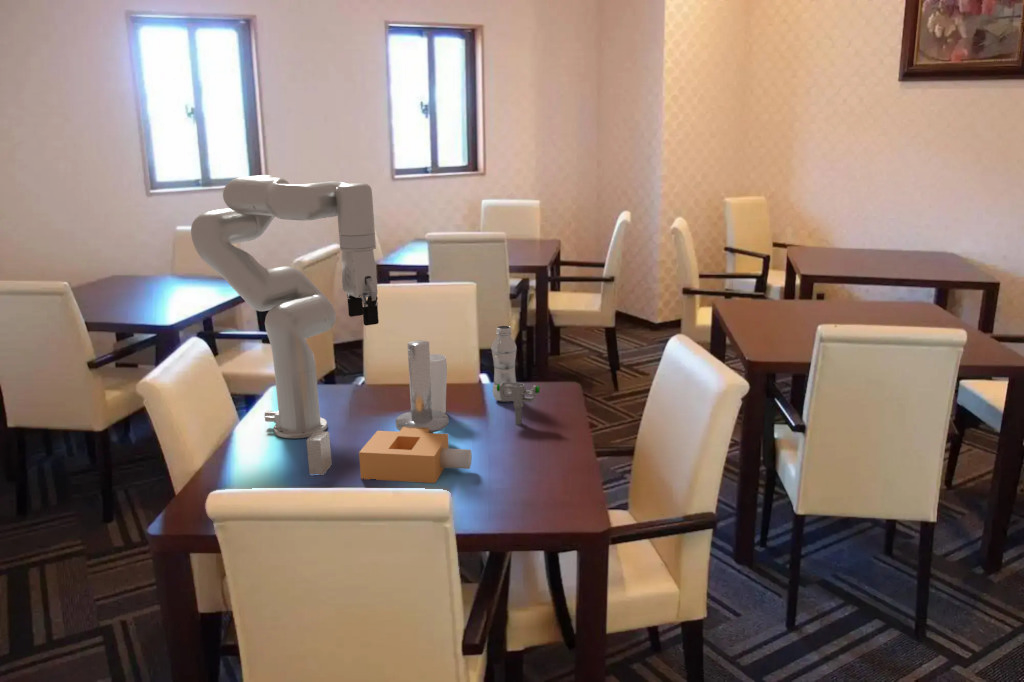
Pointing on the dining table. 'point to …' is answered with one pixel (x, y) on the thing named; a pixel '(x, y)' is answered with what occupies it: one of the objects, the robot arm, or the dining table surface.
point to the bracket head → (410, 456)
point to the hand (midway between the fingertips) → (363, 320)
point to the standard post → (421, 392)
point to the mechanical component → (517, 396)
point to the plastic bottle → (503, 359)
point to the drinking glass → (438, 381)
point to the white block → (319, 452)
